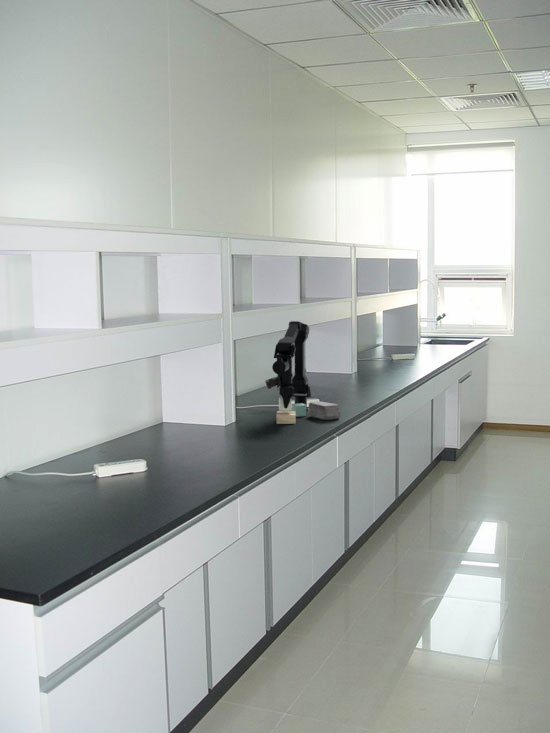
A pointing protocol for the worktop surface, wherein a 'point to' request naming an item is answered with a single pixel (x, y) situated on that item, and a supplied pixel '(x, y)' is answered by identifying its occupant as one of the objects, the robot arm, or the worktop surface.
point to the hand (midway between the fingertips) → (285, 407)
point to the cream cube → (281, 405)
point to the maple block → (286, 417)
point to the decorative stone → (324, 410)
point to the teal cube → (299, 409)
